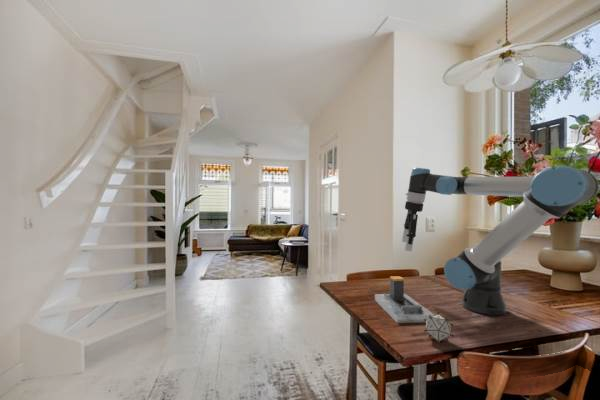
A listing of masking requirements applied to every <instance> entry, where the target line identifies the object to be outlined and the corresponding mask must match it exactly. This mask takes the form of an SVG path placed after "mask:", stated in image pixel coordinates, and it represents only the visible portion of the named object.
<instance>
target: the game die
mask: <svg viewBox="0 0 600 400" xmlns="http://www.w3.org/2000/svg"><path fill="white" fill-rule="evenodd" d="M429 317H430V318H429V319H427V320H426V319H424V321H426V322H425V329H423V332H427V334H428V338H429V337H432V338H433V339H434V340H435V341H437V345H440V342H442V341H443V340H445V341H448V340H449V338H450V337H452V338H455V335H454V334H452V326H453V325H454V324H453V323H450V322H449V318H448V317H446V318H445V317H444V316H442V315H441V314H440V312H439V311H437V314H434V316H432V317H431V315H429Z"/></svg>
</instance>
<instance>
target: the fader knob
mask: <svg viewBox="0 0 600 400" xmlns="http://www.w3.org/2000/svg"><path fill="white" fill-rule="evenodd" d="M389 278H390V280H389V281H390V282H389V283H390V289H389V291H390V293H389V294H390V295H389V296H390V297H391V298H392V299H393V300H394V301H405V298H404V294H405V293H404V285H405V283H404V281H405V278H403V277H402V276H399V275H397V276H396V275H395V276H392V275H391V276H389Z"/></svg>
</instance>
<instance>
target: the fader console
mask: <svg viewBox="0 0 600 400" xmlns="http://www.w3.org/2000/svg"><path fill="white" fill-rule="evenodd" d="M389 295H390V293H386V292H384V293H379V294H378V293H377V294H376V293H375V294H374V300H375V302H376V303H377V304H378V305H379V306H380V307H381V308H382V309H383V310H384V311H385V312H386V313H387V314H388V315H389V316H390V317H391V318H392V320H394V321H395V322H396V323H397V324H410V323H419V324H420V323H426V321H424V319H426V320H427V319H429V318H430V317H429V315H431V317H432V316H434V315H435V314H434V313H433V312H431V310H429V309H427V308H426V307H424V306H423V305H421V304H420V303H419V302H417V301H416V300H415V299H414V298H412V297H411V296H409V295H408V294H407V293H404V298H405V301H394V300H393V299H392V298H391V297H390V296H389Z"/></svg>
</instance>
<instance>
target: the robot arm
mask: <svg viewBox="0 0 600 400" xmlns="http://www.w3.org/2000/svg"><path fill="white" fill-rule="evenodd" d="M411 169H412V170H411V175H410V176H409V177H410V178H409V186H408V190H407V193H406V194H405V196H406V201H405V203H404V204H405V205H404V209H405V210H407V213H406V218H405V222H404V224H403V225H404V226H403V228H404V229H403V232H402V239H401V242H402V243H405V247H404V251H407V252H412V250H413V245H414V239H415V238H416V234H417V224H418V217H419V216H418V212H419V213H421V212H423V209H424V203H425V200H426V195H427V194H426V193H427V192H432V193H436V194H440V195H446V196H451V195H474V196H475V195H476V196H495V197H496V196H497V197H500V196H501V197H512V198H513V197H514V198H515V197H516V198H517V197H518V198H522V199H523V201H521V203H520V204H518V205H517V206H516V207H515V208H514V209H513V210H512V211H510V213H509V214H508V215H506V217H504V218H503V219H502V220H501V221H500V222H499V223H498V224H496V226H495V227H494V228H492V230H491V231H489V232H488V233H487V234H486V235H485V236H484V237H483V238H482V239H481V240H479V242H478V243H477V244H476V245H474V246H473V247H467V248H465V249H464V250H463V251H462V252H460V253H459V254H458V255H457V256H456V257H452V258H450V259H449V260H447V261H446V262H445V264H444V266H443V271H444V277H445V279H446V280H447V282H448V283H449V284H450V285H451V286H452V287H454V288H455V289H459V290H461V291H462V290H465V292H464V294H463V296H462V302H461V303H462V304H461V306H462V307H463V308H464V309H466V310H469V311H472V312H474V313H477V314H483V315H489V316H503V315H506V314H507V305H506V302H505V300H504V297H503V295H502V261H501V260H502V259H504V258H505V257H507V255H508V254H510V253H511V252H513V250H515V249H516V248H517V247H519V245H520V244H522V243H523V242H524V241H525V240H526V239H527V238H529V237H530V236H531V235H532V234H534V232H536V231H537V230H538V229H539V228H540V227H542V226H543V225H544V224H545V223H546V222H548V221H549V220H550V219H561V218H562V217H563V216H564V215H566V214H567V213H569V211H571V210H572V209H573V208H574V207H575V206H580V205H584V204H587V203H588V202H590V201H591V200H593V199H594V198H595V197H596V196H597V194H598V192H599V188H600V186H599V181H598V179H597V178H596V176H594V175H593V174H592V173H591V172H589V171H586V170H584V169H580V168H576V167H574V166H568V165H557V166H550V167H547V168H544V169H542V170H541V171H539V172H538V173H537V174H535V176H451V175H450V176H449V175H441V174H435V173H434V174H433V173H431V169H429V168H425V167H424V168H423V167H412V168H411Z"/></svg>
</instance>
